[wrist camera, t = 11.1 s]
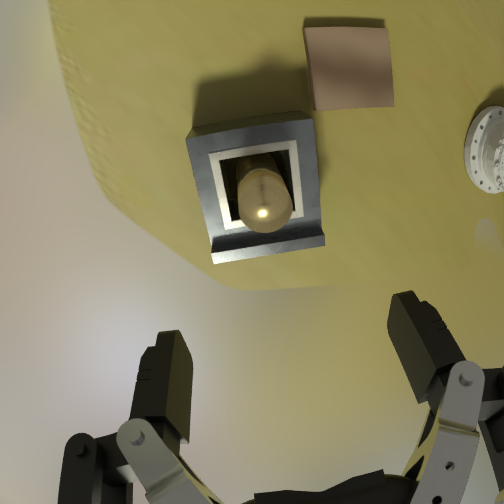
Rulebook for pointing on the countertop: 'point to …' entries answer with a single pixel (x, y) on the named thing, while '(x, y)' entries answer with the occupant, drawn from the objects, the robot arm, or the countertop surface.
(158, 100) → the countertop surface
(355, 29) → the brown square panel
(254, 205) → the translucent brown rounded cylinder
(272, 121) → the grey square frame
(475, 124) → the mechanical component
